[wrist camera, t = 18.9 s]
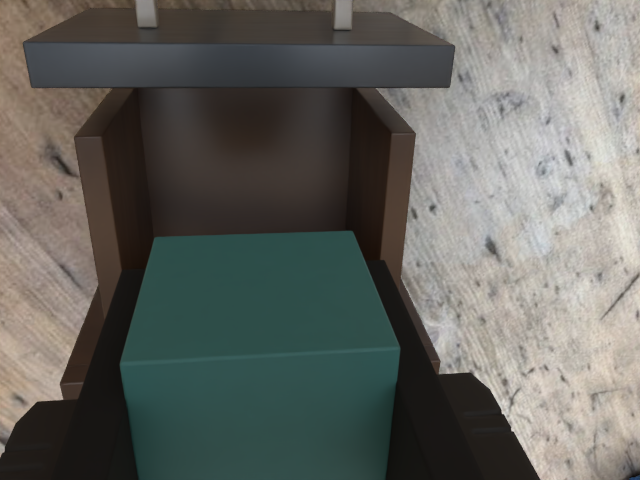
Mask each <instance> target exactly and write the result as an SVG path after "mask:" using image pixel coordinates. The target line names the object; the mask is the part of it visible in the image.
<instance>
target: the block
mask: <svg viewBox="0 0 640 480" xmlns="http://www.w3.org/2000/svg"><path fill="white" fill-rule="evenodd" d="M399 358H400V346H399V343H398V341H397V338H396V336H395V333H394V331H393V329H392V326H391V324H390V321H389V319H388V316H387V314H386V311H385V309H384V307H383V304H382V302H381V299H380V297H379V294H378V292H377V289H376V287H375V284H374V282H373V280H372V277H371V275H370V272H369V270H368V267H367V265H366V262H365V260H364V257H363V255H362V253H361V250H360V248H359V245H358V243H357V240H356V238H355V235H354V233H353V231H328V232H297V233H265V234H233V235H202V236H170V237H155V238H154V242H153V245H152V249H151V252H150V256H149V260H148V263H147V267H146V271H145V274H144V278H143V281H142V285H141V289H140V292H139V296H138V299H137V303H136V307H135V310H134V314H133V318H132V321H131V325H130V328H129V332H128V336H127V339H126V343H125V346H124V350H123V354H122V357H121V361H120V371H121V377H122V384H123V390H124V396H125V400H126V406H127V412H128V419H129V425H130V432H131V438H132V444H133V451H134V457H135V464H136V470H137V476H138V480H386V474H387V464H388V455H389V446H390V436H391V427H392V418H393V408H394V399H395V390H396V382H397V376H398V367H399Z"/></svg>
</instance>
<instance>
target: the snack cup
mask: <svg viewBox="0 0 640 480" xmlns="http://www.w3.org/2000/svg"><path fill="white" fill-rule="evenodd" d="M629 480H640V475H638V476H637V477H631V478H630V479H629Z"/></svg>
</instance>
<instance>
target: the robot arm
mask: <svg viewBox="0 0 640 480" xmlns="http://www.w3.org/2000/svg"><path fill="white" fill-rule="evenodd" d="M365 262H366V265H367V267H368V270H369V272H370V275H371V277H372V280H373V282H374V284H375V287H376V289H377V292H378V294H379V297H380V299H381V302H382V304H383V307H384V309H385V311H386V314H387V316H388V319H389V321H390V324H391V326H392V329H393V331H394V333H395V336H396V338H397V341H398V343H399V346H400V358H399V367H398V376H397V382H396V390H395V399H394V408H393V418H392V427H391V436H390V446H389V455H388V464H387V474H386V480H540V478H539V477H538V475H537V473H536V471H535V469H534V468H533V466H532V464H531V462H530V461H529V459H528V457H527V455H526V453H525V452H524V450H523V448H522V446H521V444H520V443H519V441H518V439H517V437H516V435H515V434H514V432H512V431H511V426H510V425H509V423H508V421H507V419H506V418H505V416H504V414H502V413H501V409H500V407H499V405H498V403H497V401H496V400H495V398H494V396H493V394H492V392H491V391H490V389H489V388H487V387H486V386H485V385H484V384H483V383H482V382H480V381H479V380H478V379H477V378H476V377H475V376H473V375H472V374H471V373H455V374H439V375H437V374H436V372H435V369H434V367H433V365H432V363H431V361H430V358H429V356H428V354H427V352H426V350H425V348H424V345H423V343H422V341H421V339H420V337H419V334H418V332H417V330H416V328H415V326H414V323H413V321H412V319H411V317H410V315H409V312H408V310H407V308H406V306H405V304H404V301H403V299H402V297H401V295H400V293H399V291H398V288H397V286H396V284H395V282H394V280H393V277H392V275H391V273H390V271H389V269H388V266H387V264H386V262H385V260H367V261H365ZM145 271H146V269H130V270H122V271H121V274H120V277H119V280H118V283H117V286H116V289H115V292H114V295H113V298H112V301H111V304H110V307H109V309H108V312H107V315H106V318H105V321H104V324H103V327H102V330H101V333H100V336H99V339H98V342H97V345H96V348H95V351H94V353H93V356H92V359H91V362H90V365H89V368H88V371H87V374H86V377H85V380H84V383H83V386H82V389H81V392H80V395H79V398H78V399H73V400H57V401H41V402H37V403H36V404H35V405H34V406H33V407H32V408H31V409H30V410H29V411H28V412H27V413H26V414H25V415H24V416H23V417H22V418H21V419H20V420H19V421H18V422H17V423H16V424H15V426H14V429H13V431H12V433H11V435H10V437H9V440H8V442H7V444H6V446H5V452H4V453H2V455H1V457H0V480H138V476H137V470H136V464H135V457H134V451H133V444H132V438H131V432H130V425H129V419H128V412H127V406H126V400H125V396H124V390H123V384H122V377H121V371H120V361H121V357H122V354H123V350H124V346H125V343H126V339H127V336H128V332H129V328H130V325H131V321H132V318H133V314H134V310H135V307H136V303H137V299H138V296H139V292H140V289H141V285H142V281H143V278H144V274H145Z"/></svg>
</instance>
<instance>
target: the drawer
mask: <svg viewBox="0 0 640 480" xmlns="http://www.w3.org/2000/svg"><path fill="white" fill-rule="evenodd" d="M23 47H24V52H25V57H26V63H27V68H28V73H29V78H30V83H31V87H32V88H113V89H112V90H111V91H110V92H109V94H108V95H107V96H106V97H105V99H104V100H103V101H102V102H101V104H100V105H99V106H98V107H97V109H96V110H95V111H94V112H93V114H92V115H91V116H90V117H89V119H88V120H87V121H86V122H85V124H84V125H83V126H82V127H81V129H80V130H79V131H78V132H77V134H76V135H75V136H74V141H75V147H76V153H77V159H78V165H79V171H80V177H81V183H82V189H83V194H84V200H85V206H86V212H87V218H88V224H89V230H90V236H91V242H92V248H93V254H94V260H95V265H96V271H97V277H98V283H99V289H100V295H101V301H102V307H103V313H104V319H105V318H106V315H107V312H108V309H109V307H110V304H111V301H112V298H113V295H114V292H115V289H116V286H117V283H118V280H119V277H120V274H121V271H122V270H130V269H146V267H147V263H148V260H149V256H150V252H151V249H152V245H153V242H154V238H155V237H170V236H202V235H233V234H265V233H297V232H328V231H353V233H354V235H355V238H356V240H357V243H358V245H359V248H360V250H361V253H362V255H363V257H364V260H365V261H367V260H385V262H386V264H387V266H388V269H389V271H390V273H391V275H392V277H393V280H394V282H395V284H396V286H397V288H398V291H399V288H400V279H401V269H402V260H403V250H404V241H405V231H406V222H407V213H408V203H409V194H410V184H411V175H412V165H413V156H414V146H415V137H416V133H415V132H414V131H413V130H412V128H411V127H410V126H409V125H408V124H407V123H406V122H405V121H404V120H403V118H402V117H401V116H400V115H399V114H398V113H397V112H396V111H395V110H394V108H393V107H392V106H391V105H390V104H389V103H388V102H387V101H386V100H385V98H384V97H383V96H382V95H381V94H380V93H379V92H378V91H377V90H376V88H449V87H450V83H451V75H452V68H453V60H454V52H455V46H454V45H452V44H450V43H448V42H447V41H445V40H443V39H441V38H439V37H437V36H435V35H433V34H431V33H429V32H427V31H425V30H423V29H421V28H419V27H417V26H415V25H413V24H411V23H409V22H408V21H406V20H404V19H402V18H400V17H398V16H396V15H394V14H392V13H385V12H353V0H332V12H321V11H258V10H194V9H158V3H157V0H135V9H131V8H89V9H87V10H85V11H83V12H81V13H79V14H77V15H75V16H73V17H71V18H69V19H67V20H65V21H63V22H62V23H60V24H58V25H56V26H54V27H52V28H50V29H48V30H46V31H44V32H42V33H40V34H38V35H36V36H34V37H32V38H30V39H28V40H26V41H24V42H23Z"/></svg>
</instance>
